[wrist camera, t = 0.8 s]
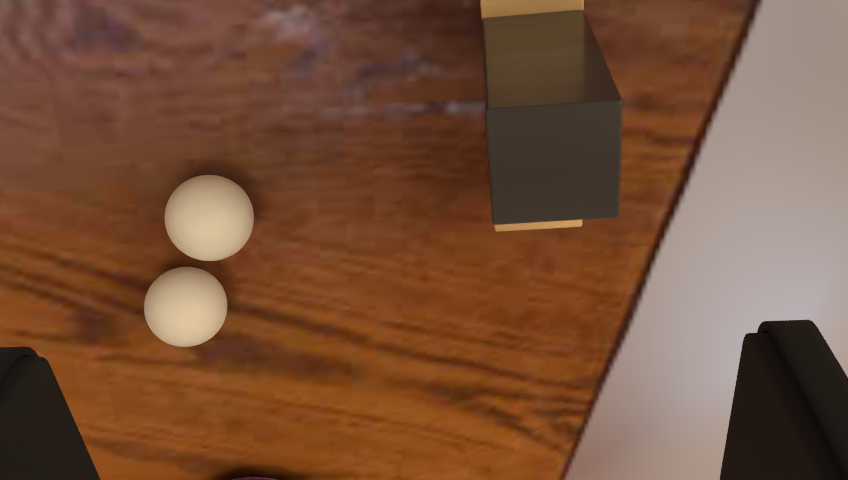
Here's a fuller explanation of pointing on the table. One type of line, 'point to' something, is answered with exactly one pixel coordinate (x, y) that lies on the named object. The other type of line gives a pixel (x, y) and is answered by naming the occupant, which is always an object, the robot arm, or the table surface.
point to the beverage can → (254, 478)
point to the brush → (548, 116)
